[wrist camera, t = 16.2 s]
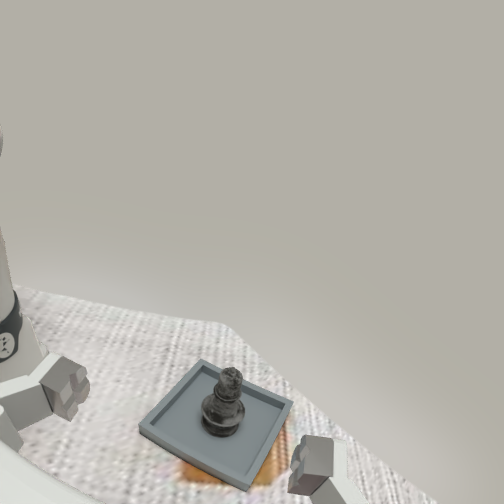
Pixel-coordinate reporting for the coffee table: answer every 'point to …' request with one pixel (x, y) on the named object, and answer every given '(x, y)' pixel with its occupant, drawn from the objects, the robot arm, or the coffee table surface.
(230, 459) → the tray
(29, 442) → the coffee table surface
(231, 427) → the dark stone stupa
